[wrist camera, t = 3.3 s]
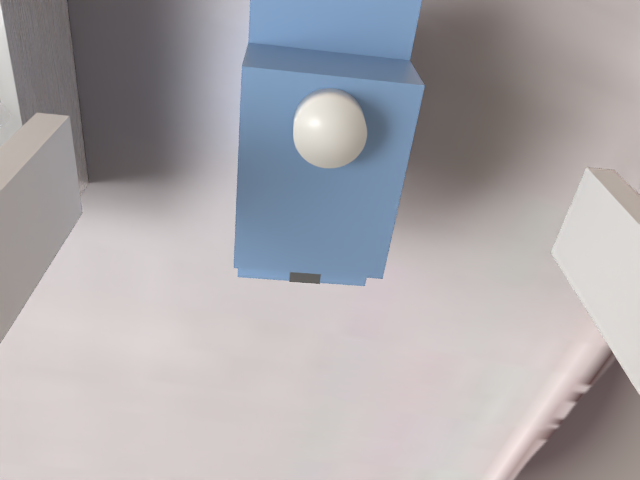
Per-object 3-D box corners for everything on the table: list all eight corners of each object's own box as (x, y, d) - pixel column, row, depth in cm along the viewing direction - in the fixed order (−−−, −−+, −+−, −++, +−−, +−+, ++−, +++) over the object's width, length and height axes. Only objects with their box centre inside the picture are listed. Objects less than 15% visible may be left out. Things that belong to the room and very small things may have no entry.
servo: (351, 205, 25) (374, 345, 18) (249, 196, 25) (229, 336, 17) (393, -46, 20) (451, 6, 12) (263, -62, 19) (242, -18, 12)
